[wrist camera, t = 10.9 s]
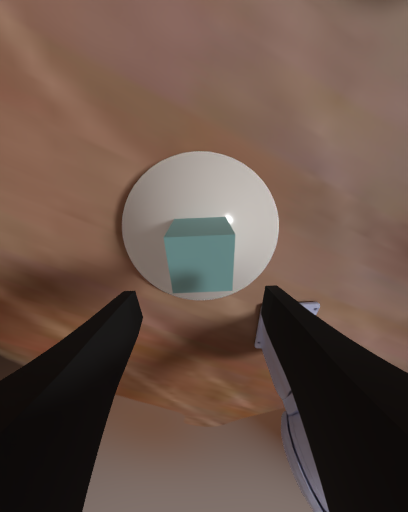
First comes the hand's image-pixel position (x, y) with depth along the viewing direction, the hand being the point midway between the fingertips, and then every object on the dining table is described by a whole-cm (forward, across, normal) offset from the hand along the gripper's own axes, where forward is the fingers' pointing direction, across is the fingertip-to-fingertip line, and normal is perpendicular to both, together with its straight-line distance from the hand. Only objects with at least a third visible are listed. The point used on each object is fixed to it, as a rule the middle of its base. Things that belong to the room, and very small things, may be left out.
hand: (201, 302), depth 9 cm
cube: (+9, 0, 0) cm, 9 cm away
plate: (+10, 0, 0) cm, 10 cm away
